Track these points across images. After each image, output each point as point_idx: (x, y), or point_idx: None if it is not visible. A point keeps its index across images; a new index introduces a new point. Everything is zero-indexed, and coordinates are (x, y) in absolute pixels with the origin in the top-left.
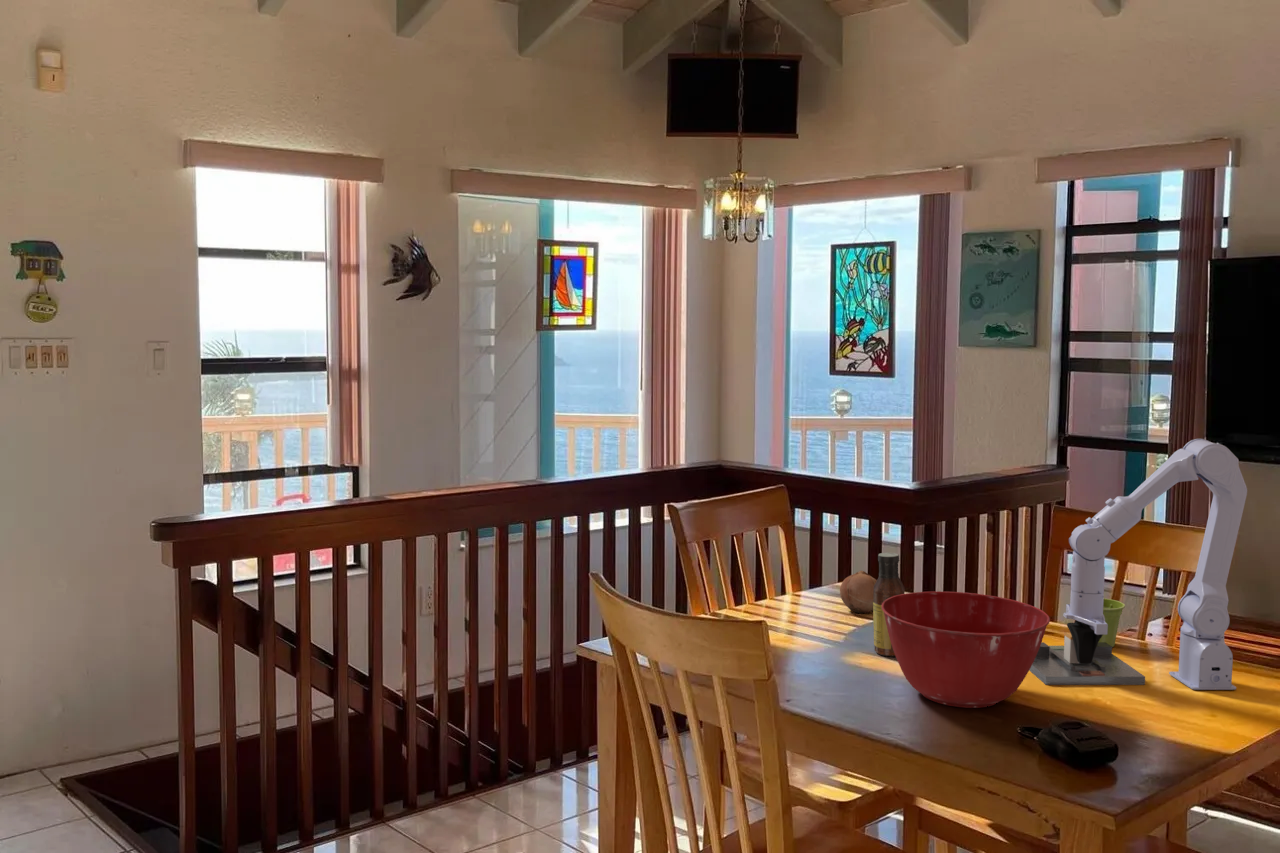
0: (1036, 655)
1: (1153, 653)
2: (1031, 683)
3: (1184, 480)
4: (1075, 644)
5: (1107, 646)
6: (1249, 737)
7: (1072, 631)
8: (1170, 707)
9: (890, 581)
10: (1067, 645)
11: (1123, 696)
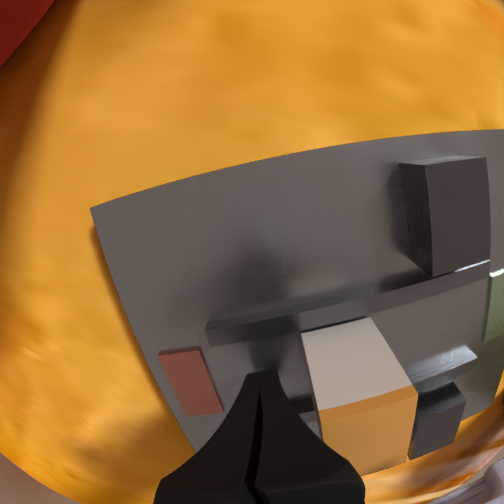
0: (408, 203)
1: (453, 465)
2: (110, 147)
3: None
4: (270, 416)
5: (413, 452)
6: (17, 463)
7: (261, 467)
8: (73, 448)
9: None
10: (353, 369)
11: (92, 402)
